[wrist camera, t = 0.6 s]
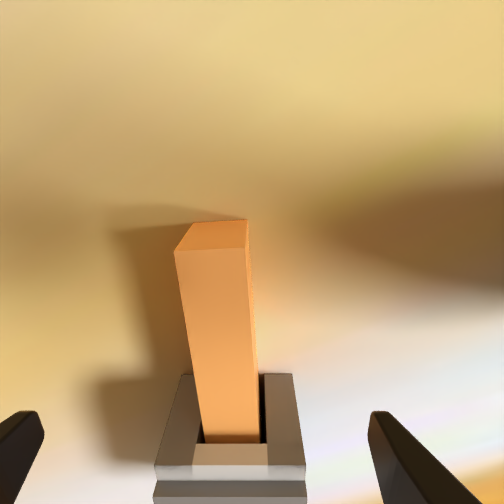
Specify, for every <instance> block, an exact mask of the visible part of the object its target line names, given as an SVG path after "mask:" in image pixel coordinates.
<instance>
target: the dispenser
mask: <svg viewBox="0 0 504 504" xmlns="http://www.w3.org/2000/svg"><path fill="white" fill-rule="evenodd" d="M264 416H265V444H206V442H205V436H204V430H203V424H202V419H201V413H200V407H199V401H198V395H197V389H196V383H195V377H194V375H182V376H181V380H180V383H179V386H178V389H177V393H176V396H175V399H174V403H173V406H172V409H171V412H170V416H169V419H168V422H167V425H166V429H165V432H164V435H163V438H162V442H161V445H160V448H159V452H158V455H157V458H156V461H155V465H154V467H155V472H156V477H157V483H156V486H155V490H154V493H153V502H154V504H307V491H306V484H305V473H306V462H305V455H304V449H303V442H302V436H301V429H300V423H299V416H298V410H297V403H296V397H295V390H294V384H293V377H292V374H264Z"/></svg>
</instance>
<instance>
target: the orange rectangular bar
mask: <svg viewBox="0 0 504 504" xmlns="http://www.w3.org/2000/svg"><path fill="white" fill-rule="evenodd" d="M173 252H174V258H175V264H176V270H177V276H178V282H179V287H180V293H181V299H182V305H183V311H184V317H185V323H186V329H187V335H188V341H189V347H190V353H191V359H192V365H193V371H194V377H195V383H196V389H197V395H198V401H199V407H200V413H201V419H202V424H203V430H204V436H205V442H206V444H263V434H262V420H261V406H260V392H259V378H258V363H257V349H256V335H255V321H254V307H253V293H252V279H251V264H250V250H249V236H248V222H247V220H230V221H213V222H196V223H193V224H192V226H191V227H190V228H189V230H188V231H187V233H186V234H185V236H184V237H183V238H182V240H181V241H180V243H179V244H178V246H177V247H176V249H175V250H174V251H173Z"/></svg>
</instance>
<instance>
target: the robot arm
mask: <svg viewBox="0 0 504 504" xmlns="http://www.w3.org/2000/svg"><path fill="white" fill-rule="evenodd" d="M43 439H44V429H43V426H42V424H41V421H40V418H39V416H38V413H37V412H36V411H19V412H17V413H15V414H13V415H12V416H10V417H9V418H7V419H6V420H4V421H3V422H1V423H0V504H14V502H15V500H16V498H17V496H18V494H19V492H20V489H21V487H22V485H23V483H24V481H25V479H26V477H27V474H28V472H29V470H30V468H31V466H32V464H33V462H34V460H35V457H36V455H37V453H38V451H39V449H40V447H41V445H42V442H43ZM368 443H369V447H370V451H371V455H372V459H373V463H374V467H375V471H376V475H377V479H378V483H379V487H380V491H381V495H382V499H383V503H384V504H482V503H481V502H480V501H479V500H478V499H477V498H476V497H475V496H474V495H473V494H472V493H471V492H470V491H469V490H468V489H467V488H466V487H465V486H464V485H463V484H462V483H461V482H460V481H459V480H458V479H457V478H456V477H455V476H454V475H453V474H452V473H451V472H450V471H449V470H448V469H446V468H445V467H444V466H443V465H442V464H441V463H440V462H439V461H438V460H437V459H436V458H435V457H434V456H433V455H432V454H431V453H430V452H429V451H428V450H427V449H426V448H425V447H424V446H423V445H422V444H421V443H420V442H419V441H418V440H417V439H416V438H415V437H414V436H413V435H412V434H411V433H410V432H409V431H408V430H407V429H406V428H405V427H404V426H403V425H402V424H401V423H400V422H399V421H398V420H397V419H396V418H394V417H393V416H392V415H391V414H390V413H389V412H387V411H373V412H372V413H371V416H370V422H369V428H368Z"/></svg>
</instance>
